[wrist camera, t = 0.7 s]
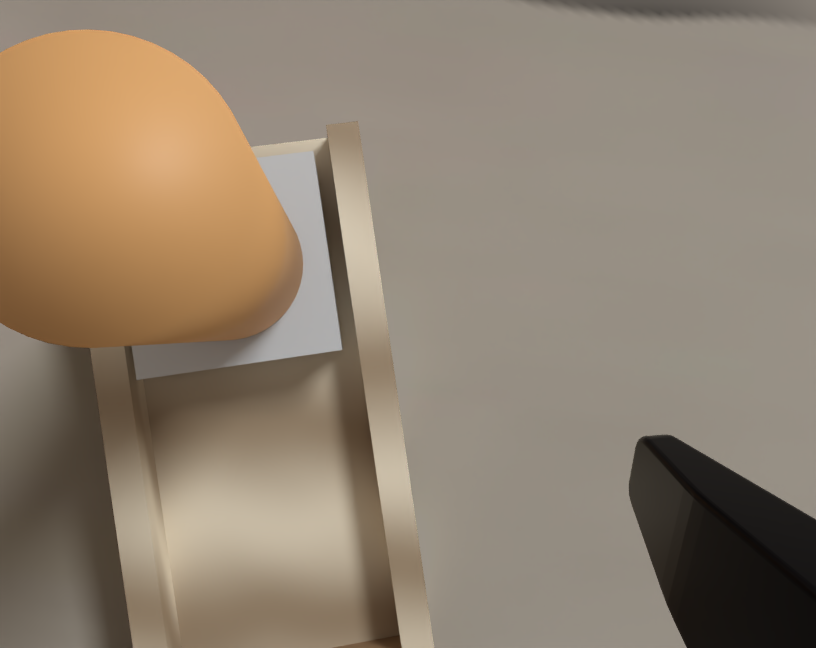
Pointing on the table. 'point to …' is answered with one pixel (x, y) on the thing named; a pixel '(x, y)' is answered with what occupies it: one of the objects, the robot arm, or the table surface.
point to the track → (273, 472)
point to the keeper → (152, 213)
